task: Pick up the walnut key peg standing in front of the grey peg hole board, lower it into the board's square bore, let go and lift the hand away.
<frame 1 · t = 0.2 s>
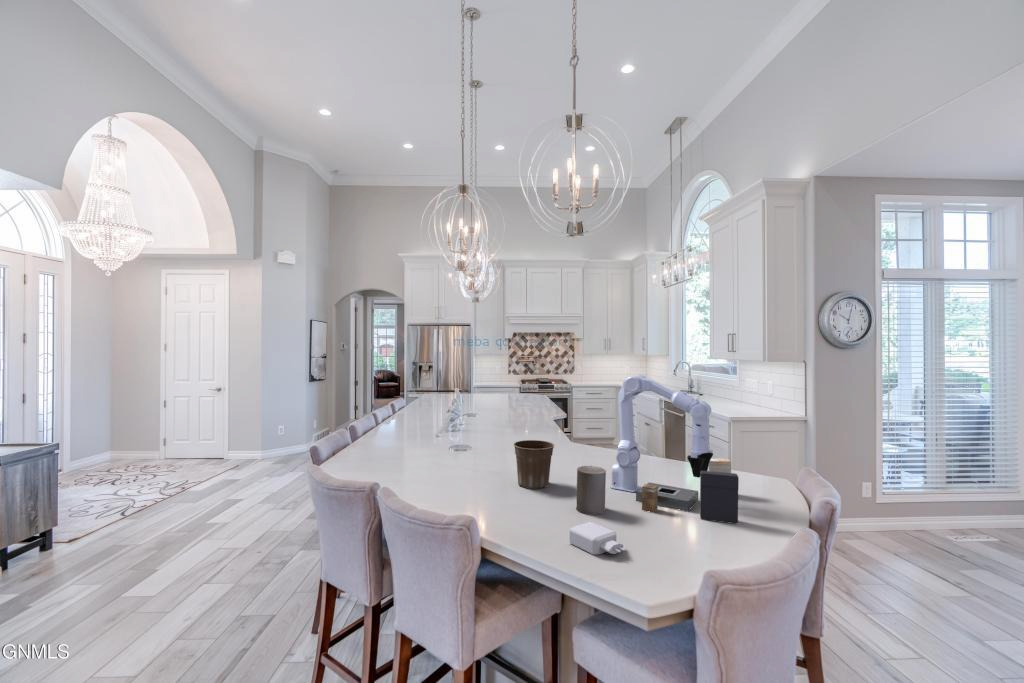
hand: (700, 474, 169), 10 cm above the countertop, tool pointing down, fingers open, 7 cm apart
black rectangular box: (718, 520, 152), on the countertop
grey peg hole board: (667, 501, 170), on the countertop
pillar candle: (590, 510, 160), on the countertop
supplement box: (717, 494, 180), on the countertop
charger: (600, 551, 129), on the countertop
plant pot: (533, 485, 189), on the countertop
key peg: (649, 509, 161), on the countertop
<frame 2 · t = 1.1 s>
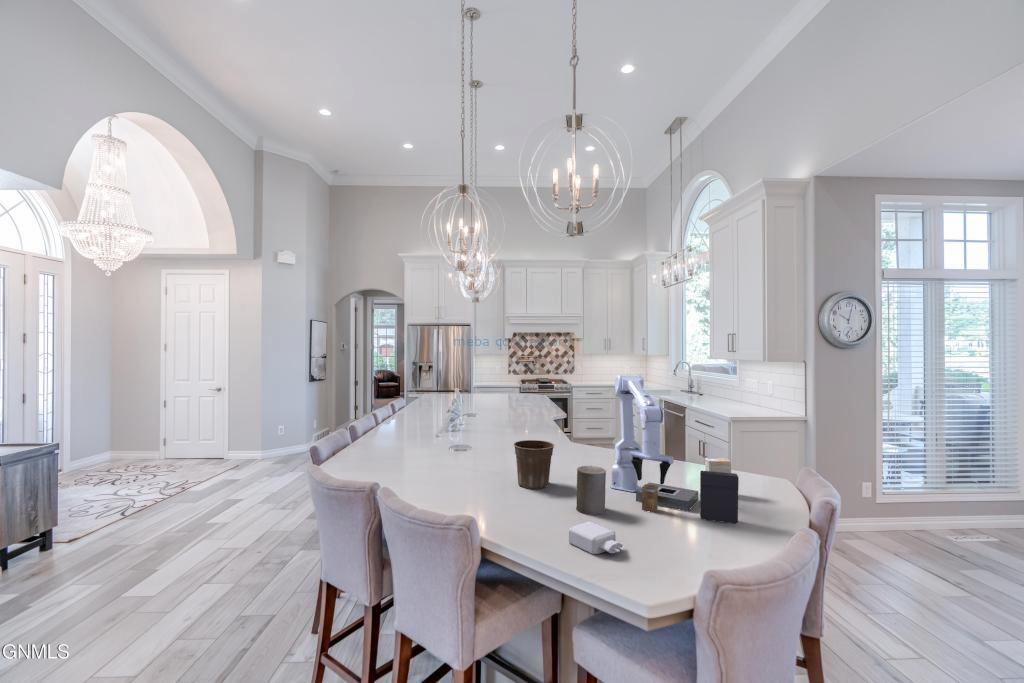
hand: (650, 481, 161), 9 cm above the countertop, tool pointing down, fingers open, 7 cm apart
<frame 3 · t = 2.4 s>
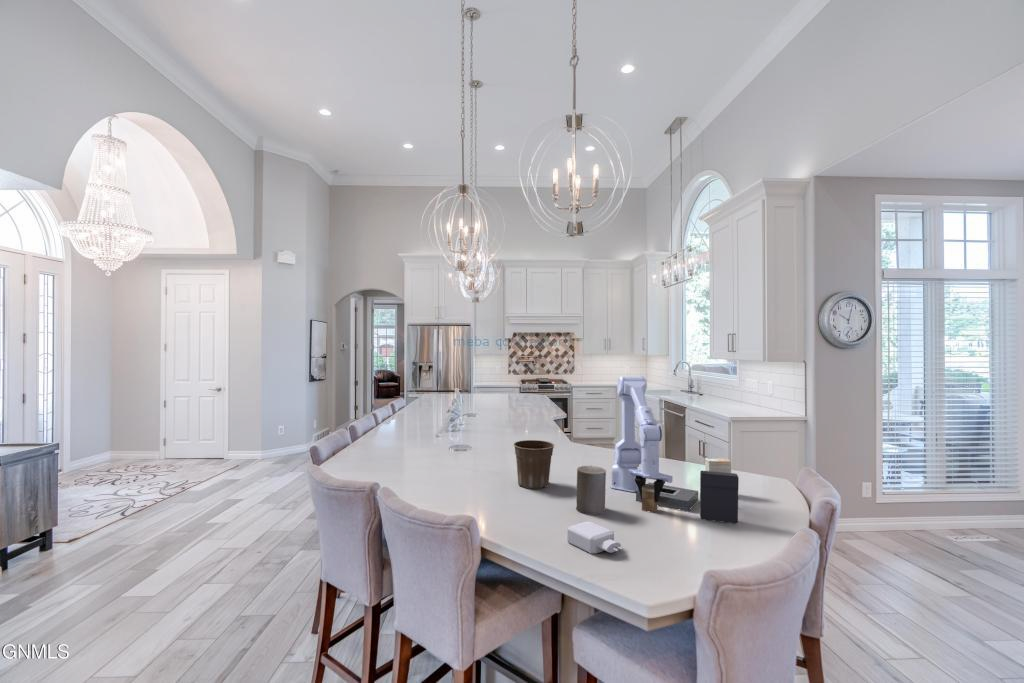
hand: (649, 500, 161), 3 cm above the countertop, tool pointing down, fingers closed on key peg, 4 cm apart
key peg: (649, 509, 161), on the countertop, touching gripper
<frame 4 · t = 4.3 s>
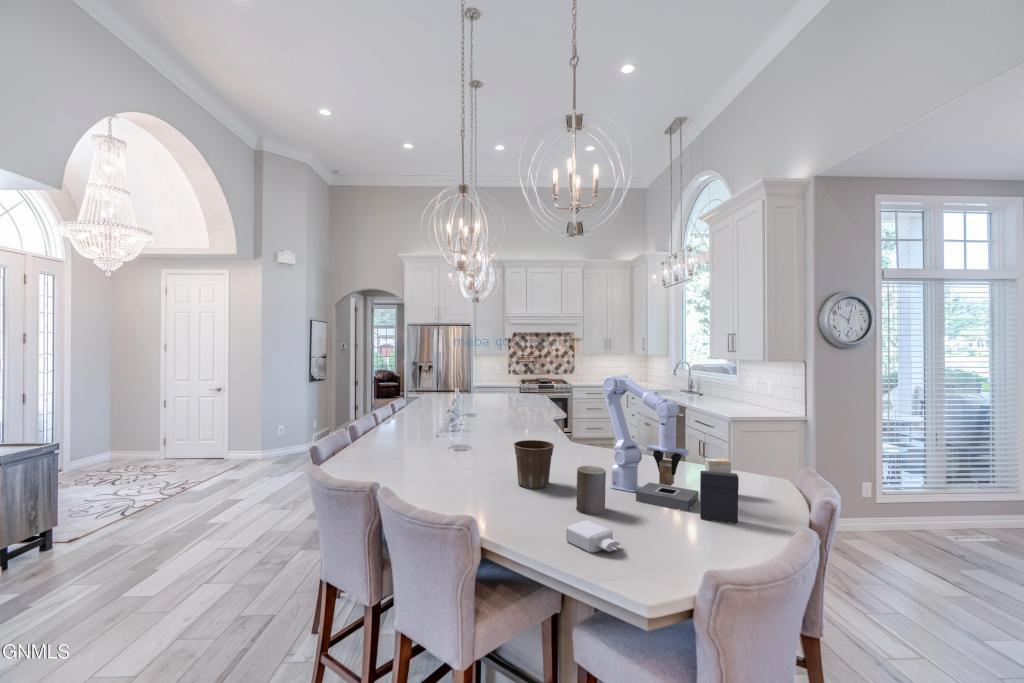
hand: (667, 473, 170), 10 cm above the countertop, tool pointing down, fingers closed on key peg, 4 cm apart
key peg: (666, 483, 170), point 6 cm above the countertop, touching gripper
when the fingers open (4 cm above the countertop, at t = 5.8 s): key peg stays where it is, resting in grey peg hole board.
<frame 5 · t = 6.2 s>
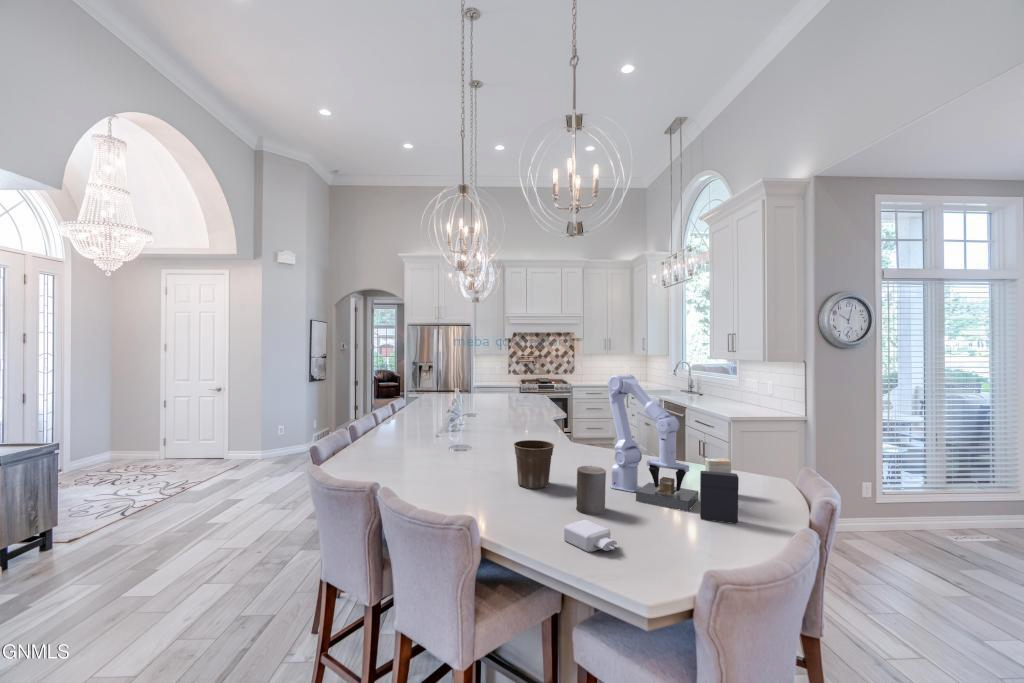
hand: (667, 488, 171), 4 cm above the countertop, tool pointing down, fingers open, 7 cm apart
key peg: (666, 501, 170), resting in grey peg hole board
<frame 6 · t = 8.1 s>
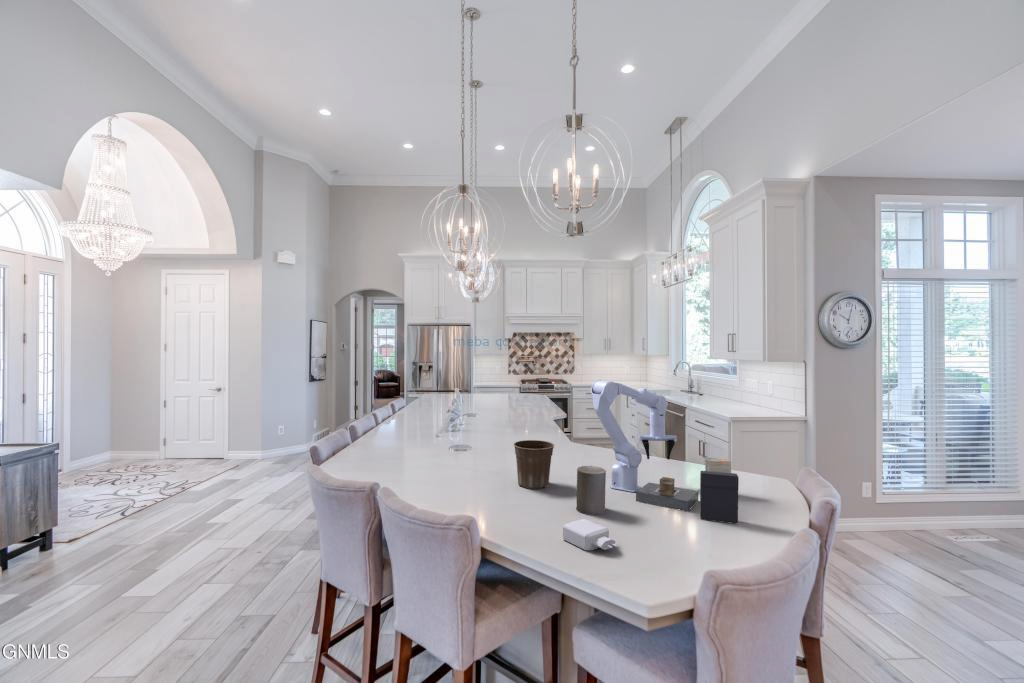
hand: (658, 458, 191), 10 cm above the countertop, tool pointing down, fingers open, 7 cm apart
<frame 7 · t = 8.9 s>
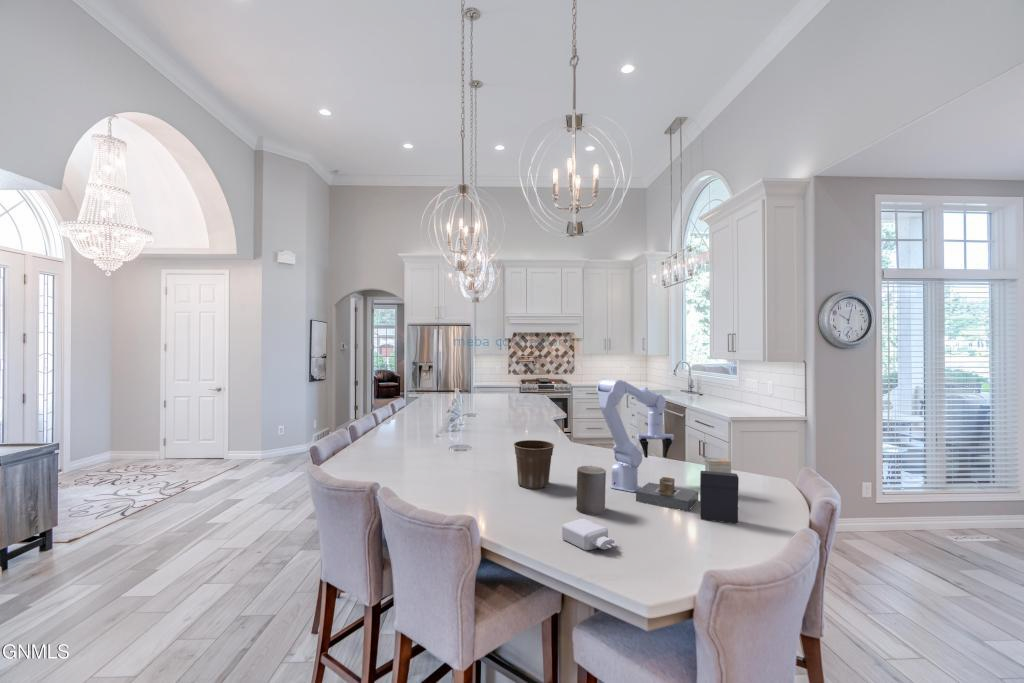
hand: (655, 457, 193), 10 cm above the countertop, tool pointing down, fingers open, 7 cm apart
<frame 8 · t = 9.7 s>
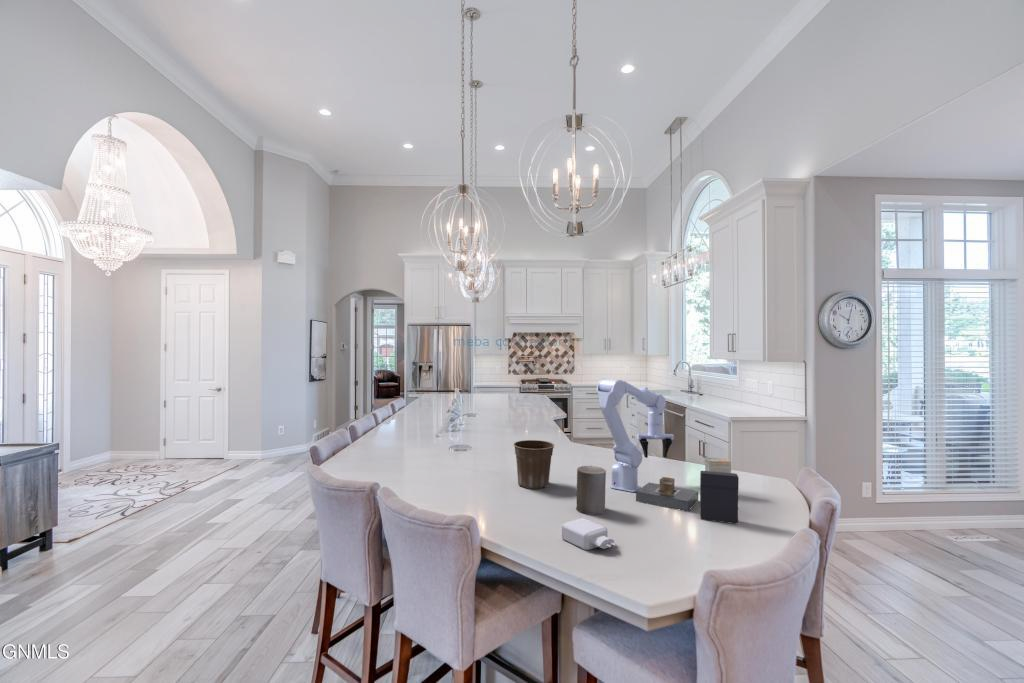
hand: (655, 457, 193), 10 cm above the countertop, tool pointing down, fingers open, 7 cm apart
at the end: key peg 0.4 cm off-centre on the grey peg hole board, point 0.0 cm above the grey peg hole board's base; key peg tilted 0°; the gripper is holding nothing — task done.
